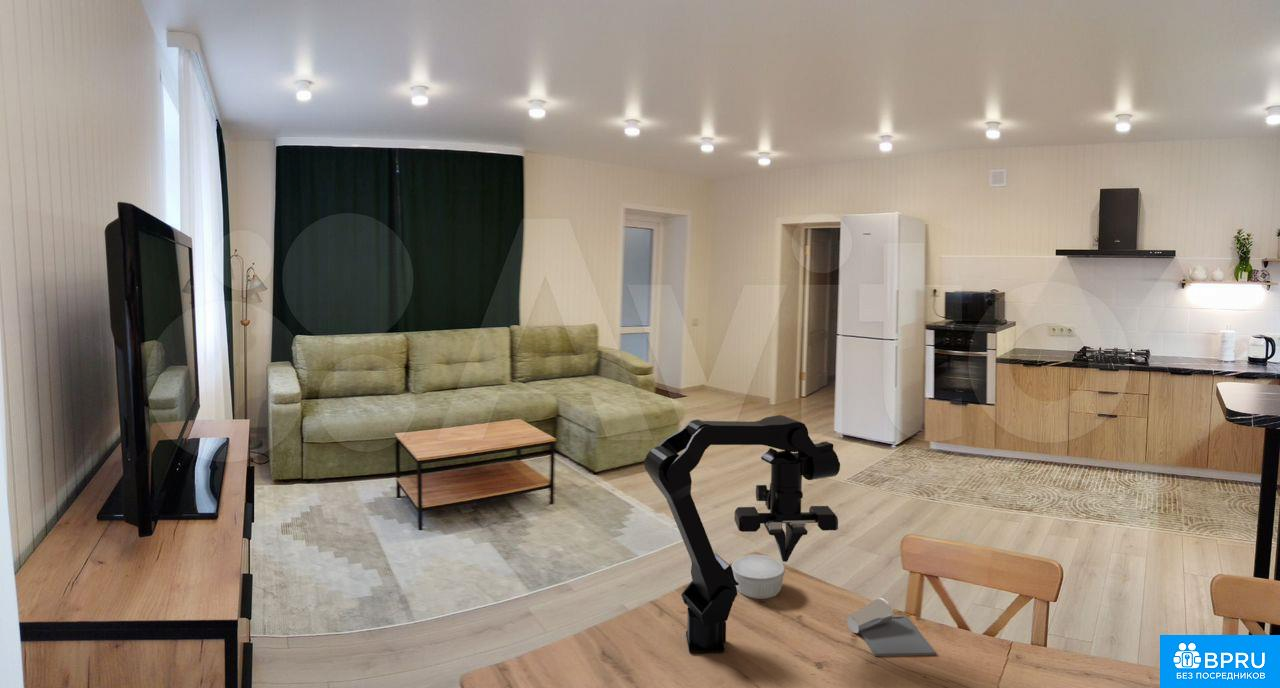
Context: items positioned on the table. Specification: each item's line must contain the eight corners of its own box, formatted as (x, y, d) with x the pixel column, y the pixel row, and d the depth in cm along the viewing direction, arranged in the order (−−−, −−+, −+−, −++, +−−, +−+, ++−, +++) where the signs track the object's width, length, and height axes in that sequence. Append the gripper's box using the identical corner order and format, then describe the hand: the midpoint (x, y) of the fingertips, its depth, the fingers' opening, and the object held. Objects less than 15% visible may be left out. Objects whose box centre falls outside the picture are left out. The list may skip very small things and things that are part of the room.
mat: (874, 656, 118) (875, 653, 118) (851, 619, 130) (851, 617, 130) (935, 655, 118) (935, 652, 118) (906, 618, 130) (906, 616, 130)
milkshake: (865, 627, 121) (905, 608, 126) (845, 607, 126) (884, 589, 130) (862, 645, 123) (901, 626, 127) (842, 625, 128) (881, 607, 132)
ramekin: (724, 594, 140) (724, 571, 139) (741, 572, 150) (741, 550, 149) (775, 607, 135) (776, 583, 134) (790, 583, 145) (790, 560, 144)
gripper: (822, 468, 133) (820, 542, 135) (730, 469, 133) (729, 543, 135) (840, 487, 122) (837, 567, 124) (740, 489, 121) (738, 569, 124)
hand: (784, 560), depth 127 cm, fingers closed
